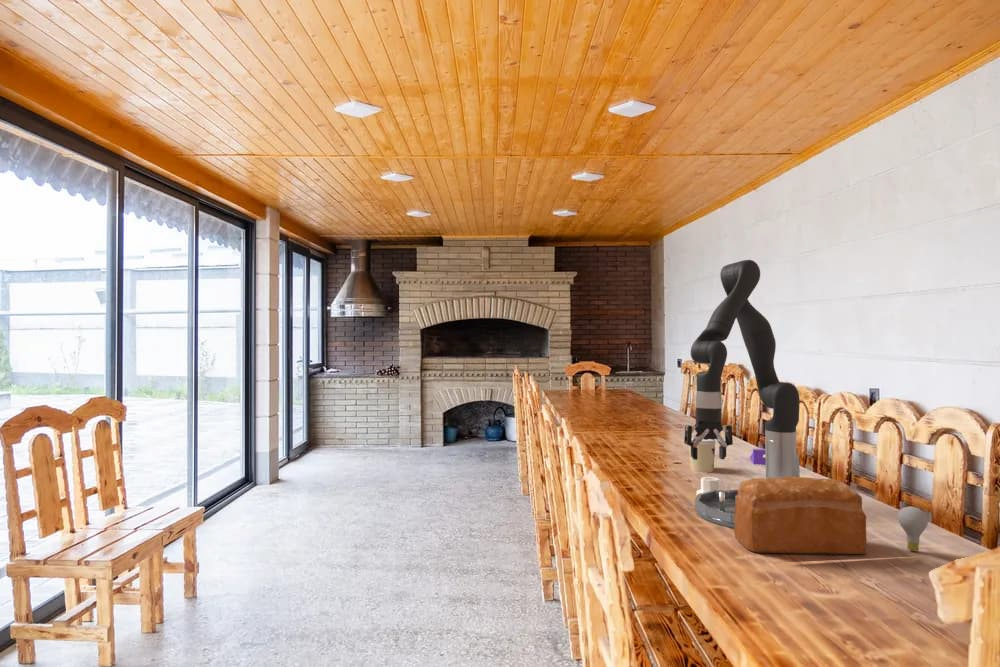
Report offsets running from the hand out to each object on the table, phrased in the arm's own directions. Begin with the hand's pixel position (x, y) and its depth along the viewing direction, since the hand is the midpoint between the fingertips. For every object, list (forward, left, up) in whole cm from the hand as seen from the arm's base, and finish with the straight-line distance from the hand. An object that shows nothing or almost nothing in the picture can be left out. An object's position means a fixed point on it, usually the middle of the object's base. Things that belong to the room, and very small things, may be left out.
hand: (708, 459), depth 175 cm
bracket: (-40, -41, -12) cm, 59 cm away
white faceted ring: (0, 0, -11) cm, 11 cm away
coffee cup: (-12, -32, -12) cm, 36 cm away
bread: (-2, +42, -12) cm, 43 cm away
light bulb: (-25, +48, -12) cm, 56 cm away
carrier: (-2, +19, -11) cm, 22 cm away
